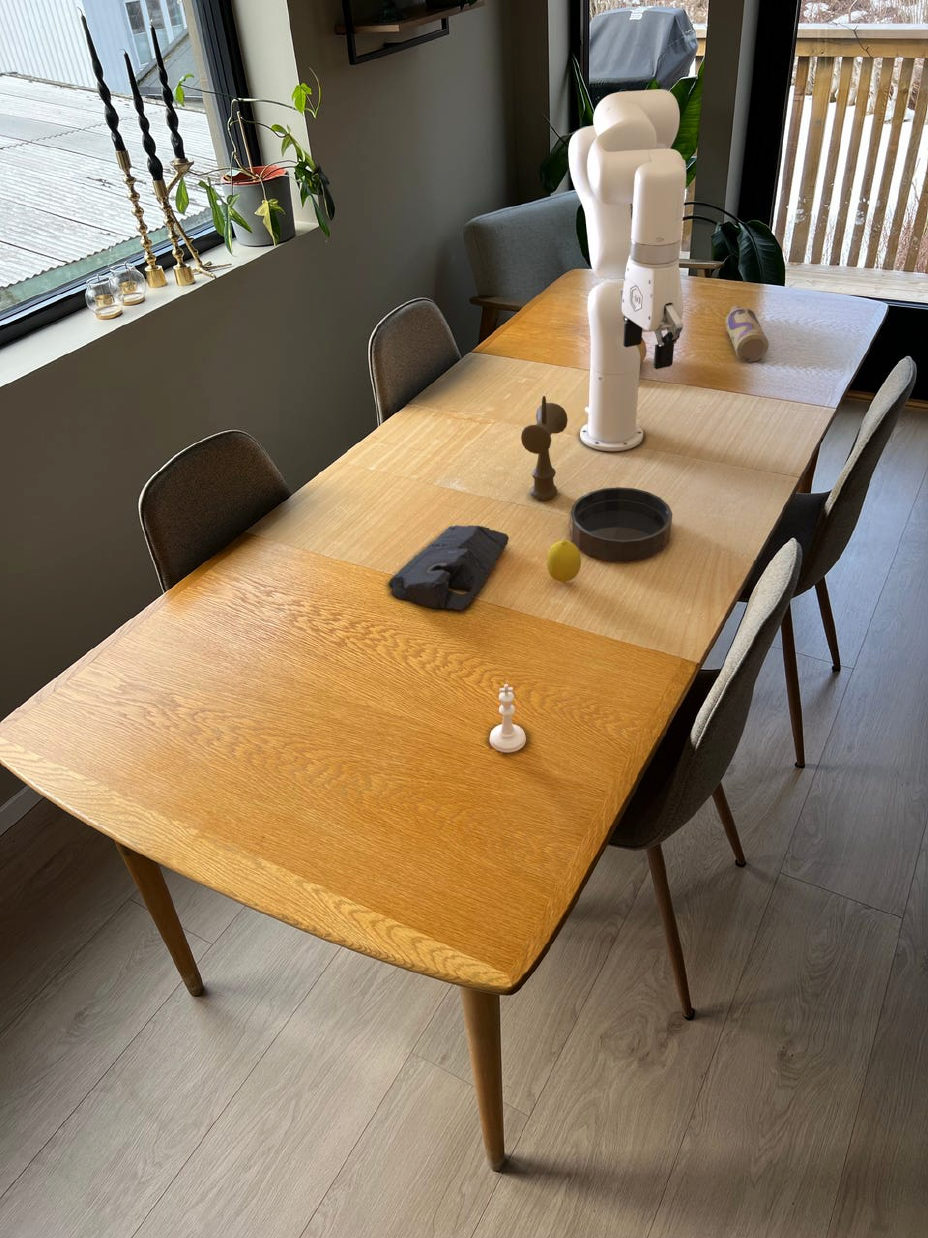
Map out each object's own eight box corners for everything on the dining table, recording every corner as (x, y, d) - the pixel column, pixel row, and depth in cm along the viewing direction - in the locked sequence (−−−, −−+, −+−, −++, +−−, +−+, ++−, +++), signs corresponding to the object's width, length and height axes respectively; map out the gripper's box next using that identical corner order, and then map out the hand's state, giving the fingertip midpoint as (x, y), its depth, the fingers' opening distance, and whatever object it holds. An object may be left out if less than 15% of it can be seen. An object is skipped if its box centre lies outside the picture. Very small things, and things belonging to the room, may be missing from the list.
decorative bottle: (768, 362, 221) (772, 334, 217) (734, 363, 222) (737, 335, 218) (749, 319, 241) (753, 292, 237) (718, 319, 242) (721, 293, 238)
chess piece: (487, 728, 134) (485, 674, 128) (523, 725, 134) (522, 670, 128) (491, 754, 130) (489, 700, 124) (528, 750, 130) (527, 696, 124)
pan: (553, 522, 174) (553, 501, 171) (637, 500, 178) (639, 478, 175) (599, 573, 161) (600, 551, 158) (689, 547, 165) (691, 525, 163)
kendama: (567, 484, 184) (569, 386, 171) (550, 510, 177) (551, 410, 164) (537, 479, 186) (537, 382, 173) (519, 505, 179) (518, 405, 166)
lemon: (578, 592, 157) (579, 552, 152) (544, 590, 158) (544, 549, 153) (581, 573, 161) (583, 532, 156) (548, 570, 162) (549, 530, 157)
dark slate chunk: (524, 548, 168) (524, 524, 165) (460, 619, 153) (459, 595, 150) (448, 526, 174) (446, 504, 171) (380, 593, 160) (377, 569, 157)
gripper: (606, 238, 155) (601, 341, 165) (663, 271, 142) (654, 380, 153) (647, 230, 157) (640, 333, 167) (707, 262, 144) (695, 371, 155)
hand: (647, 355), depth 160 cm, fingers open, 9 cm apart
